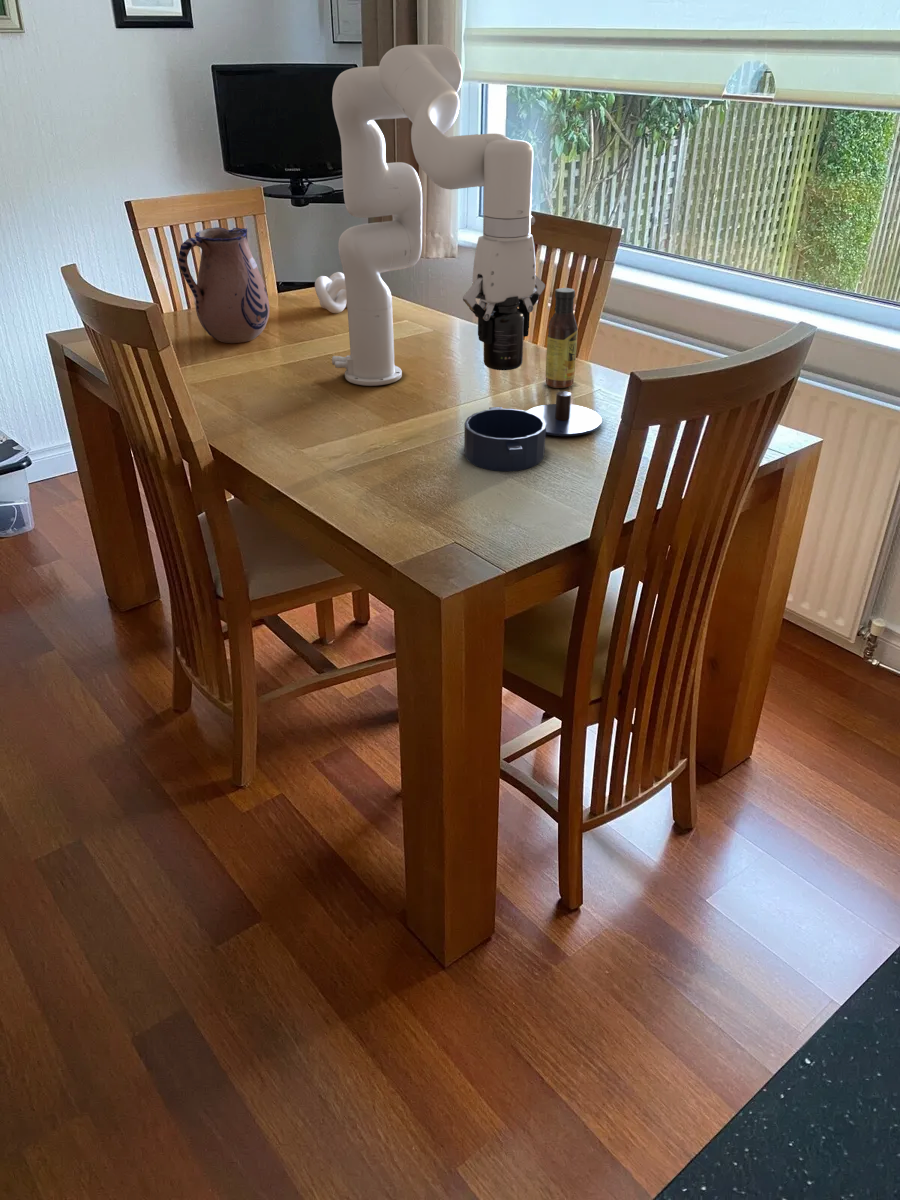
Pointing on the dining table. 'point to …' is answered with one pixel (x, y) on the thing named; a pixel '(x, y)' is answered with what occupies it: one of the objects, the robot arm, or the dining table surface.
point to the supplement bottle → (506, 336)
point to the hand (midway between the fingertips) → (503, 337)
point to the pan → (504, 439)
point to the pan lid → (567, 417)
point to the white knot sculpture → (332, 292)
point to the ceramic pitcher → (227, 285)
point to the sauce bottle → (562, 341)
